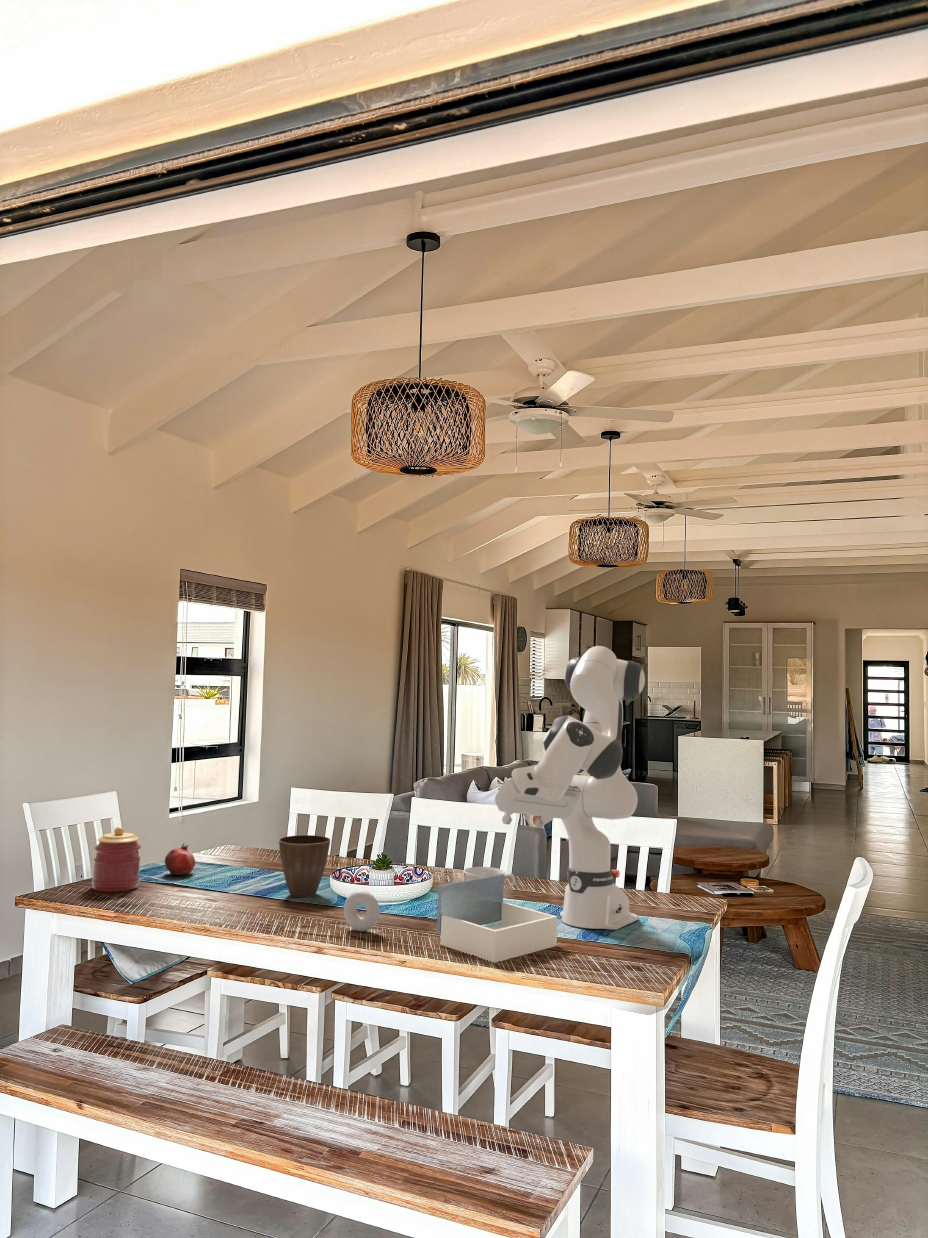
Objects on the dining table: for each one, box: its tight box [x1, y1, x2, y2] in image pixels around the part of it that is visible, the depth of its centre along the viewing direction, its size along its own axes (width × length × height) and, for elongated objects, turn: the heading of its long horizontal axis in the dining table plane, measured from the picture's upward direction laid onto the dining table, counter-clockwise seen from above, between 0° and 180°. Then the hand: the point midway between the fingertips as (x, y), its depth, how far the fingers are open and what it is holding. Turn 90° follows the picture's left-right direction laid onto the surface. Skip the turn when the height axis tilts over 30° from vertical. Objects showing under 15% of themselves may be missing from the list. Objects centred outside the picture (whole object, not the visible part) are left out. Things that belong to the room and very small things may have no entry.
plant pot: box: [278, 834, 331, 898], centre depth 261 cm, size 15×15×16 cm
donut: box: [343, 890, 381, 932], centre depth 224 cm, size 10×4×10 cm, turn 67°
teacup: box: [463, 866, 516, 893], centre depth 253 cm, size 12×15×10 cm
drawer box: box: [440, 901, 558, 964], centre depth 216 cm, size 18×22×7 cm
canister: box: [91, 826, 142, 893], centre depth 262 cm, size 13×13×18 cm
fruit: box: [164, 843, 196, 877], centre depth 282 cm, size 9×10×10 cm
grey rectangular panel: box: [436, 874, 505, 936], centre depth 224 cm, size 2×22×12 cm, turn 134°
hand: (521, 824), depth 213 cm, fingers open, 8 cm apart
